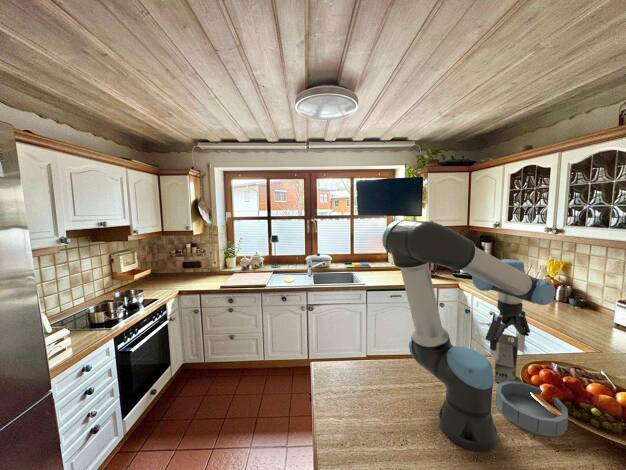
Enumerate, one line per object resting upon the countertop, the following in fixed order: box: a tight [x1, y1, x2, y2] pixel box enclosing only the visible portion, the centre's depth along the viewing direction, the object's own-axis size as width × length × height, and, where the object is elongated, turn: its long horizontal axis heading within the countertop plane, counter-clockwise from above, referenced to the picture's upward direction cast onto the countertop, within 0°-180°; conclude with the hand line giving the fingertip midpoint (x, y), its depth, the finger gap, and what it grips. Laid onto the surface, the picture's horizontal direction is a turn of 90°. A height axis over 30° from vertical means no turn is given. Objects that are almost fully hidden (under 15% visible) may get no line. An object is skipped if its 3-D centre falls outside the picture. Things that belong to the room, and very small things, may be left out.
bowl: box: [495, 380, 569, 438], centre depth 85 cm, size 17×17×5 cm
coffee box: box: [493, 333, 519, 384], centre depth 102 cm, size 9×6×16 cm
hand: (507, 354), depth 101 cm, fingers open, 13 cm apart
